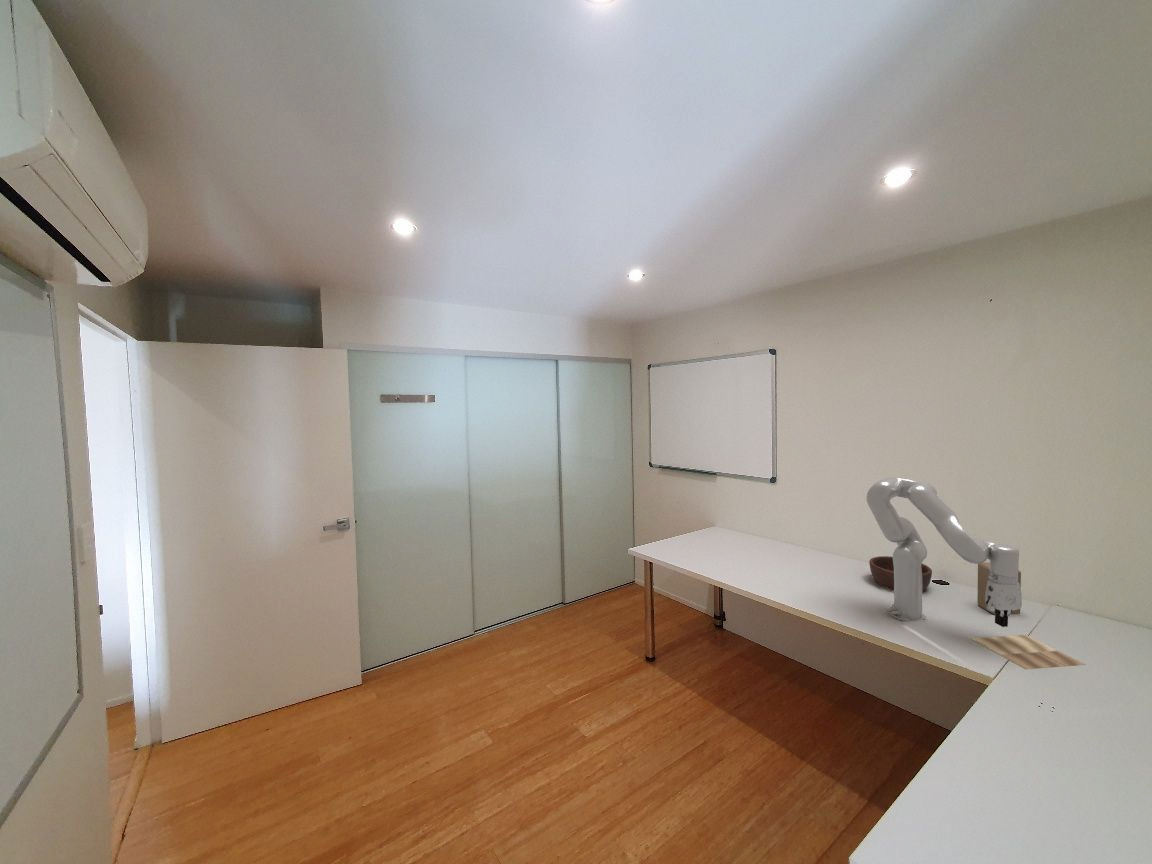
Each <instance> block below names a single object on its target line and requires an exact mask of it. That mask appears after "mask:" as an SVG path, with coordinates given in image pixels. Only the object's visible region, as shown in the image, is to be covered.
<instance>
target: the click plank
mask: <svg viewBox="0 0 1152 864" xmlns="http://www.w3.org/2000/svg"><path fill="white" fill-rule="evenodd" d="M971 640H972V641H974V642H975V643H977V644H978V645H980V646H983V647H985V648H986V649H988V650H990V651H992V652H993V653H995V654H996V655H999V656H1001V655H1008V654H1022V653H1036V652H1050V651H1058V650H1057V649H1055V648H1053V647H1051V646H1050V645H1047V644H1046V643H1043V642H1041V641H1039V640H1037V639H1034V637H1031V636H1029V635H1027V634H1017V635H1006V636H1005V635H1003V636H989V637H976V638H973V637H971Z"/></svg>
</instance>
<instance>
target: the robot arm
mask: <svg viewBox="0 0 1152 864" xmlns="http://www.w3.org/2000/svg"><path fill="white" fill-rule="evenodd" d="M937 495H938V492H937V489H936V487H935V486H934V485H932V484H930V483H927V482H925V481H918V480H912V479H906V478H901V477H900V478H899V477H890V476H889V477H885V478H884V479H881V480H878V481H877V482H876V483H874V484H872V486H870V488H869V489H868V490H867V492H866V503H867V506H868V507H869V509H870V511H871V513H872V515H873V517H874V519H875V521H876V522H877V525H878V528H879V529H880V530H881V532H882V534H883V536H884V538H885V539H886V540H888V541H889V542H891V543H896V544H897V547H896V548H895V549H894V551H893V552H892V557H893V565H894V590H893V602H894V603H891V606H890V607H883V612H884V613H889V614H890V616H892V617H893V618H895V619H896V618H897V620H898V621H901V620H902V622H915V621H916V622H917V621H919V622H920V621H927V620H928V617H927V616H926V615H925V614H923V591H922V568H921V565H922V564H923V562H924V561H925V559H926V558H927V556H928V549H927V547H926V545H925V543H924V541H923V539H922V538H921V536H920V534H919V532H918V530H917V529H916V527H915V525H914V524H913V522H911V521H910V520H909V519H907V518H906V517H903V516H900V515H899V514H898V512H897V509H896V508H895V507H894V505H893V504H892V503H891V500H892V499H894V498H896V497H899V498H904V499H908V500H909V502H910V503H911V504H912V505H913V506H914V507H915V508H916V509H917V510H919V511H920V513H921V514H923V516H925V518H927V520H928V521H929V522H931V524H932V525H933V526H934V527H935V529H936V531H937V532H938V533H939V534H940V536H941V537H942V538H943V540H944V542H945V543H947V545H949V547H950V548H951V549H952V550H954V552H955V553H956V554H957V555H958V556H959V557H960V558H962V559H963V560H964V561H966V562H968V563H970V564H975V565H978V564H980V563H983V562H986V561H987V560H989V563H990V569H989V570H990V571H989V580H988V583H987V587H986V593H985V603H986V604H987V605H988V606H987V609H988V610H990V611H993V612H994V613H995V615H994V624H996V625H998V626H1000V627H1002V628H1008V627H1009V617H1010V616H1011V614H1010V613H1011V612H1012V611H1014V610H1017V609H1020V610H1021V608H1022V605H1023V599H1022V597H1023V596H1022V587H1021V588H1020V584H1019V583H1018V570H1019V567H1020V564H1019V563H1020V550H1019V549H1018V548H1017V547H1016V546H1012V545H1009V544H1003V543H1002V544H1001V543H995V542H992V541H988V540H984V539H981V538H971V537H970V535H969V534H968V533H967V532H966V531H965V530H964V528H963V527H962V525H961V522H960V521H959V518H958V516H957V514H956V513H955V511H953V509H951V507H950V506H948V505H947V504H946V503H945V502H944V501H943V500H942V499H941V498H939V496H937Z"/></svg>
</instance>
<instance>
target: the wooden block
mask: <svg viewBox="0 0 1152 864" xmlns="http://www.w3.org/2000/svg"><path fill="white" fill-rule="evenodd" d="M989 569H990V562H986V561H985V562H983V563H980V564H977V606H979V607H980V608H982V609H984V610H985V611H987V612H989V613H990V614H992V615H993V616H995V613H994V612H993V611H990V610H988V609H987V606H988V605H987V604H986V603H985V593H986V587H987V583H988V580H989V571H990V570H989ZM1021 572H1022V571H1020V570H1019V569H1018V583H1019V584H1020V588H1021V589H1022V585H1021V584H1022V573H1021ZM1010 615H1021V608H1020V609H1017V610H1014V611H1012V612H1011V613H1010Z"/></svg>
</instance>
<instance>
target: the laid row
mask: <svg viewBox="0 0 1152 864" xmlns="http://www.w3.org/2000/svg"><path fill="white" fill-rule="evenodd" d="M1000 656H1001V657H1003V658H1004V659H1006V660H1008V661H1010V662H1011V663H1013V664H1015V665H1017V666H1019V667H1021V668H1023V669H1024V670H1033V669H1045V668H1046V669H1047V668H1059V667H1060V668H1061V667H1072V666H1073V667H1074V666H1086V665H1087V664H1086V663H1084V662H1082V661H1080V660H1078V659H1076V658H1073V657H1072V656H1071V655H1070V656H1069V655H1068V654H1065V653H1063V652H1062V651H1059V650H1057V651H1044V652H1030V653H1016V654H1002V655H1000Z"/></svg>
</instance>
